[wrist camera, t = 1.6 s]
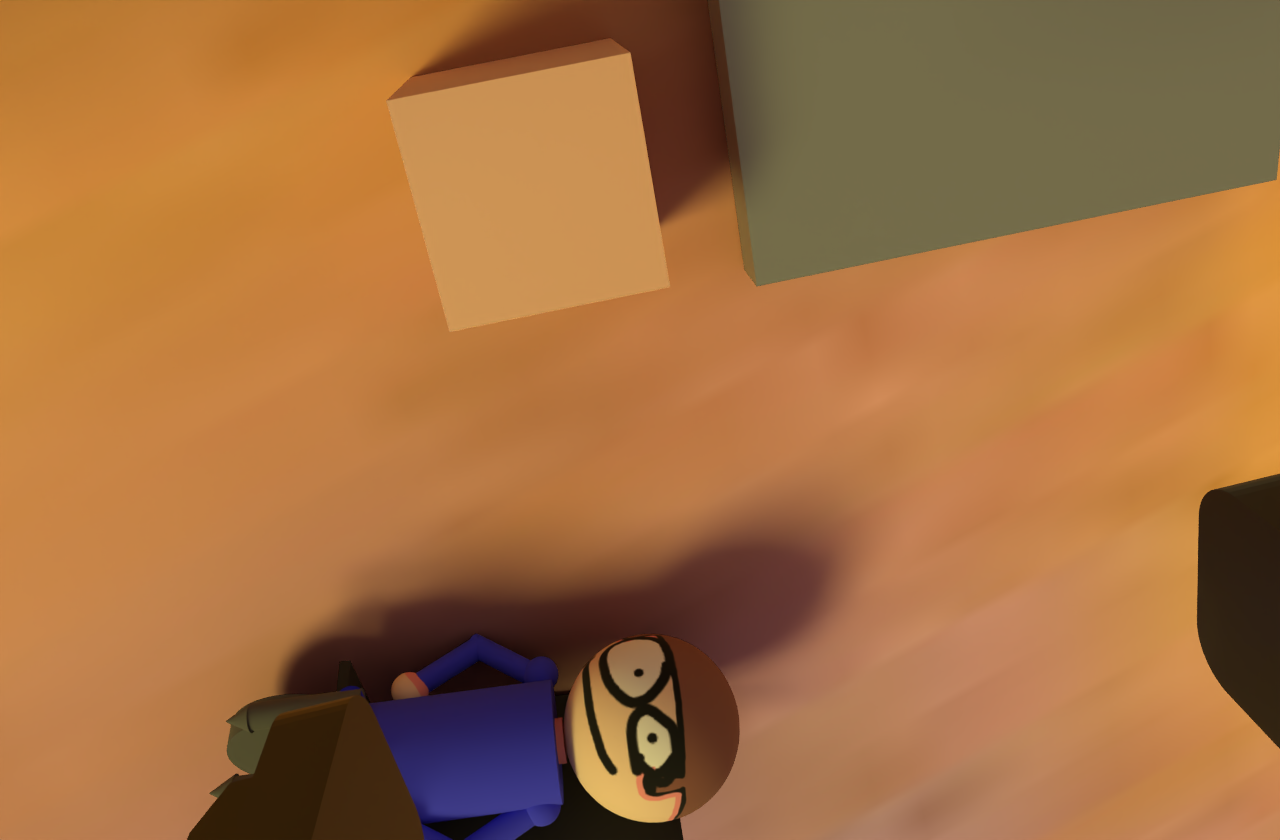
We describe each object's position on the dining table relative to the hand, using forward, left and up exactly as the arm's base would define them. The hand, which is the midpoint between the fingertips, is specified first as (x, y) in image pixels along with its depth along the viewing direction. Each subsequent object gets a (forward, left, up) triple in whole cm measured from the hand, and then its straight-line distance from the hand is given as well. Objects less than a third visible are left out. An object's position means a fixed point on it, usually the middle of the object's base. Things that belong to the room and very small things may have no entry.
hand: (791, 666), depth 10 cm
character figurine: (-7, -14, -19) cm, 25 cm away
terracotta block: (-2, +2, -19) cm, 19 cm away
